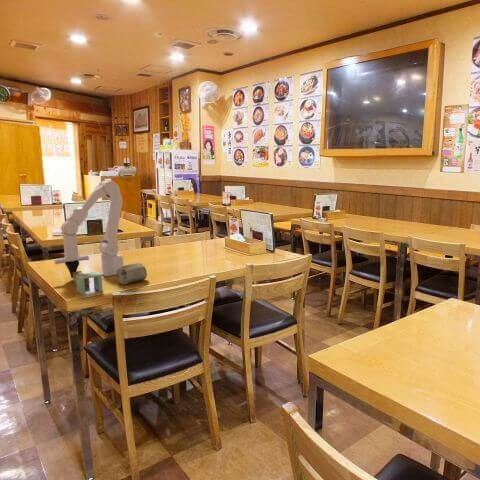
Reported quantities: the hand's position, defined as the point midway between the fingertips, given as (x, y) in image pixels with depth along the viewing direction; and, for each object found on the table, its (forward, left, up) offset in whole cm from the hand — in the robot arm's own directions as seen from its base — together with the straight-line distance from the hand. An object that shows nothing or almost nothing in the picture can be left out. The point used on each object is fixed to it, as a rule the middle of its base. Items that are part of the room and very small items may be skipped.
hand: (73, 277), depth 185 cm
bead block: (0, +23, -1) cm, 23 cm away
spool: (-19, +21, -1) cm, 29 cm away
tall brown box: (0, +12, -1) cm, 12 cm away
